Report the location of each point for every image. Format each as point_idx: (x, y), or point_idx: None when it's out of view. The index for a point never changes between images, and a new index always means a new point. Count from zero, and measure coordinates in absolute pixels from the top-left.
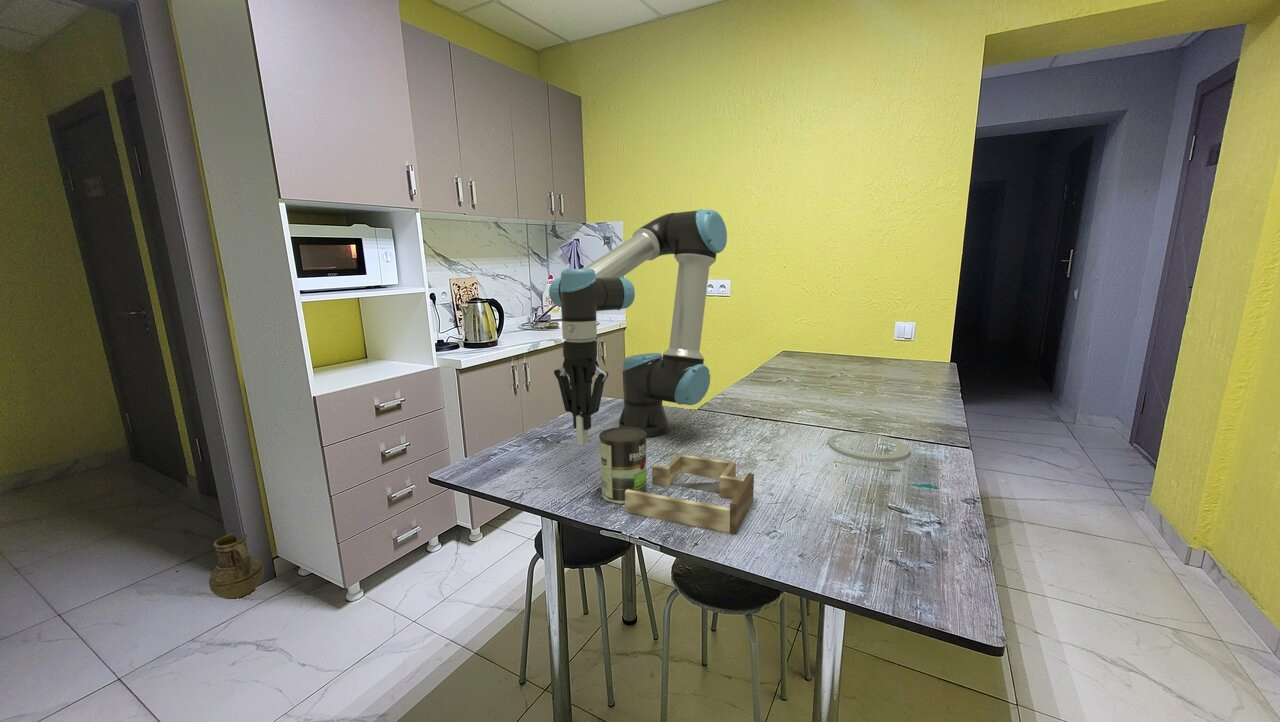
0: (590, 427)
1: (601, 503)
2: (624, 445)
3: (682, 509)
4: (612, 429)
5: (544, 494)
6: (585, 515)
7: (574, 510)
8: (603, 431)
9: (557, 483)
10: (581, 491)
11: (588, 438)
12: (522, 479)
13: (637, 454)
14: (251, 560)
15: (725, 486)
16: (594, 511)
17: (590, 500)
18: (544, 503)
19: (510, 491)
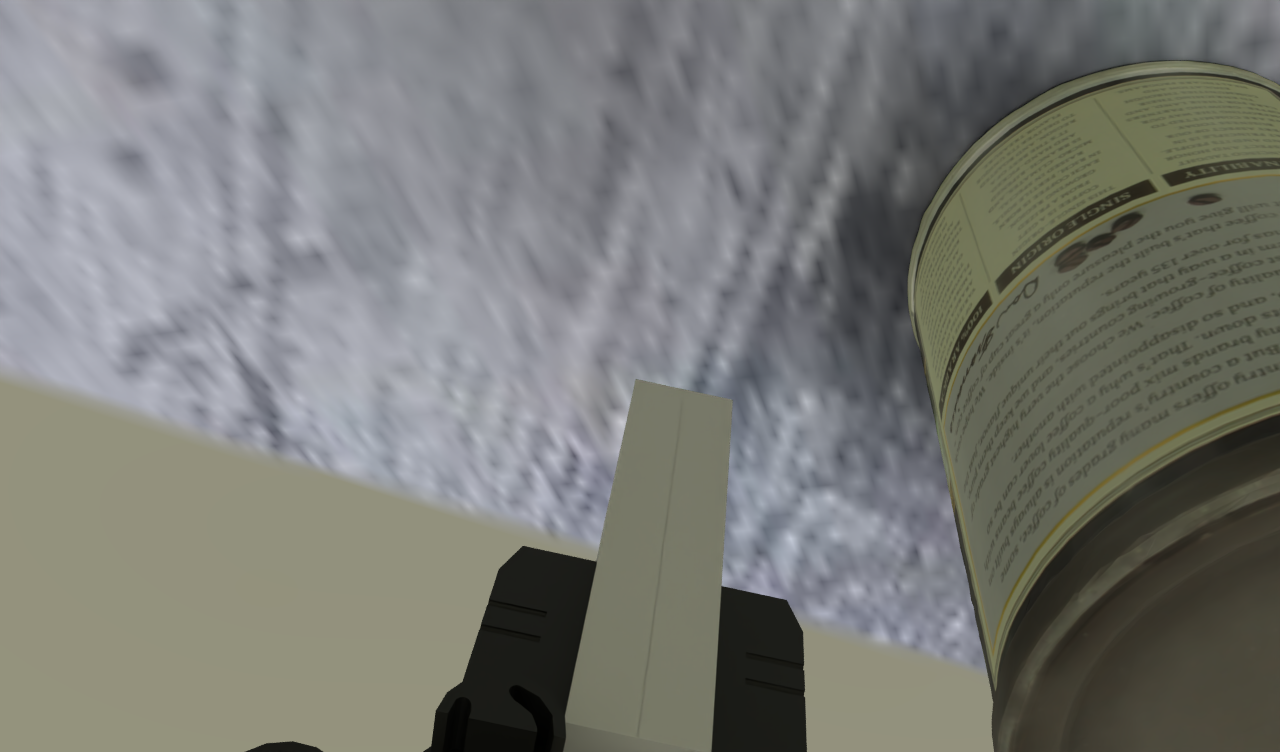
0: (792, 629)
1: (938, 449)
2: None
3: None
4: (1207, 561)
5: (425, 369)
6: (858, 602)
7: (759, 555)
8: (1048, 676)
9: (420, 158)
10: (709, 281)
11: (730, 424)
12: (56, 126)
13: None
14: None
15: None
16: (909, 554)
17: (836, 416)
18: (503, 492)
19: (137, 357)
